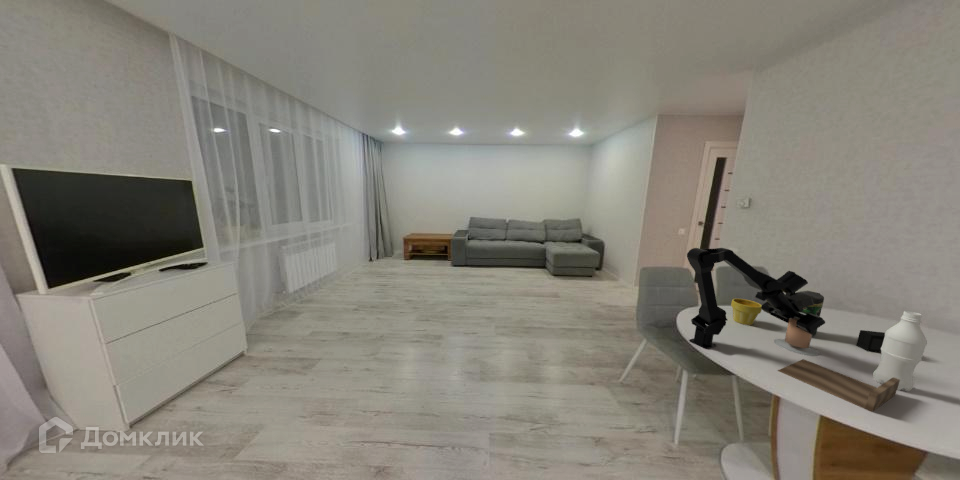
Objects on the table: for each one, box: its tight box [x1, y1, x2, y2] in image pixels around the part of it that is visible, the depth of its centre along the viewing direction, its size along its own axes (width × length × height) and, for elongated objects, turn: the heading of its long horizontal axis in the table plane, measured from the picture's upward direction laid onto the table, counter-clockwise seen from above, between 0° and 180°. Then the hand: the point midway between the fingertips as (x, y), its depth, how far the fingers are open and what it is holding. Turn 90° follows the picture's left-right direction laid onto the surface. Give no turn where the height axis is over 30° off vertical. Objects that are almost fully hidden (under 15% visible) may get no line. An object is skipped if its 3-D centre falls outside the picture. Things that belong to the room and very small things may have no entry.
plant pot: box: [730, 298, 763, 326], centre depth 131 cm, size 10×10×10 cm
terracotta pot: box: [784, 318, 813, 348], centre depth 108 cm, size 6×6×10 cm
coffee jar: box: [798, 290, 825, 337], centre depth 121 cm, size 10×8×19 cm
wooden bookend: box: [777, 358, 900, 413], centre depth 88 cm, size 18×19×6 cm
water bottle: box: [872, 310, 928, 392], centre depth 86 cm, size 7×7×25 cm
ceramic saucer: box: [773, 338, 821, 357], centre depth 109 cm, size 12×12×1 cm
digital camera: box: [855, 329, 885, 354], centre depth 108 cm, size 10×5×7 cm, turn 75°
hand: (803, 329), depth 107 cm, fingers closed on terracotta pot, 6 cm apart
